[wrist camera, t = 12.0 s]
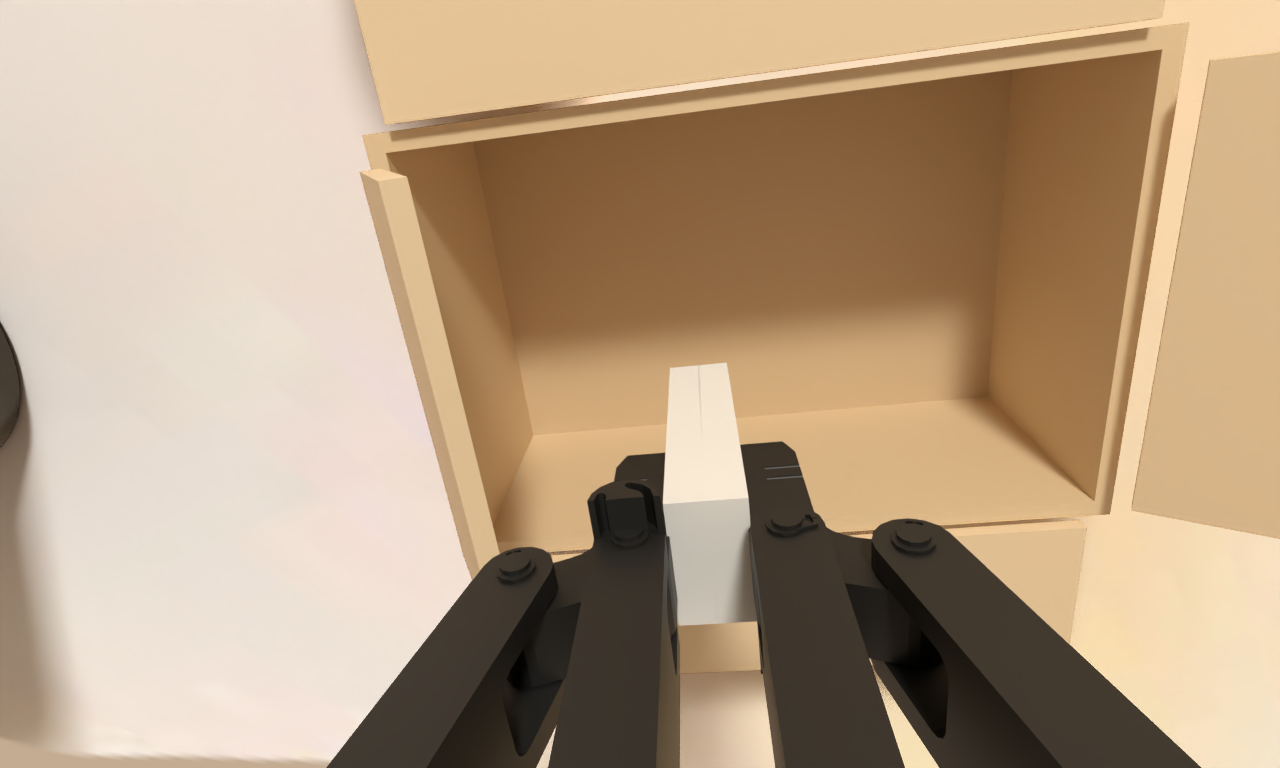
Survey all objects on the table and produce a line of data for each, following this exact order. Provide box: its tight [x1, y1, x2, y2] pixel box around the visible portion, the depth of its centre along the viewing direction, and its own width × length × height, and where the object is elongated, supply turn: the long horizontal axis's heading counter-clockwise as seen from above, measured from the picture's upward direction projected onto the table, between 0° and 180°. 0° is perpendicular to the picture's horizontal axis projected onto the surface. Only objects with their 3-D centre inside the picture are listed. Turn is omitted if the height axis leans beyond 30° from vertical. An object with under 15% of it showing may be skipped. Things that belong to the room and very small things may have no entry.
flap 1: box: [360, 169, 500, 580], centre depth 20 cm, size 1×14×7 cm, turn 9°
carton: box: [354, 0, 1189, 674], centre depth 27 cm, size 24×28×10 cm
